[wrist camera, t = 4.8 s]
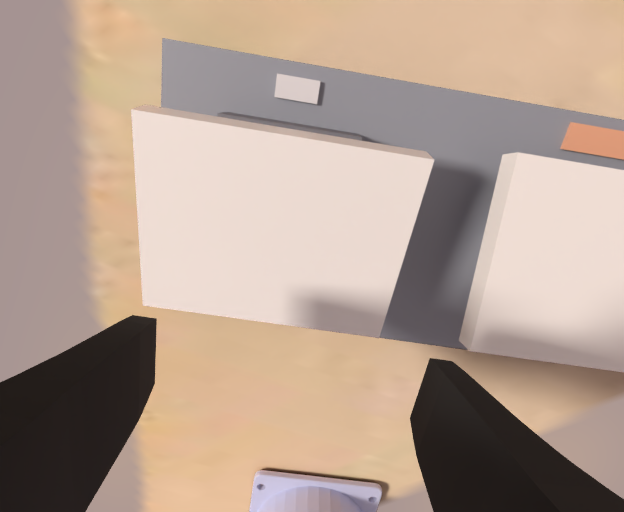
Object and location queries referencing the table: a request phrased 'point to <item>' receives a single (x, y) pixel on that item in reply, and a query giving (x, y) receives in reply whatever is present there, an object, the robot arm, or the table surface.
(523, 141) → the switch console
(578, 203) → the plate
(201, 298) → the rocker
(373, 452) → the table surface
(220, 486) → the table surface
